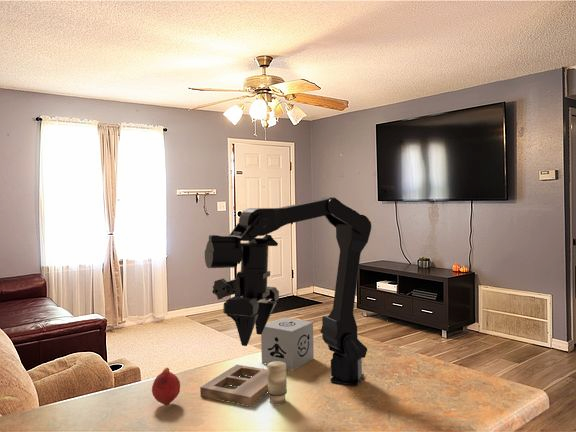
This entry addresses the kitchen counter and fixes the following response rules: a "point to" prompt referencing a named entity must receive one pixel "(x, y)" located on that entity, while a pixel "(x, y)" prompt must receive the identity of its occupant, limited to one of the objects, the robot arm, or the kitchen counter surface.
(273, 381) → the peg
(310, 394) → the kitchen counter surface
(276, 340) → the icon cube
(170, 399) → the onion
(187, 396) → the kitchen counter surface
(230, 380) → the board
